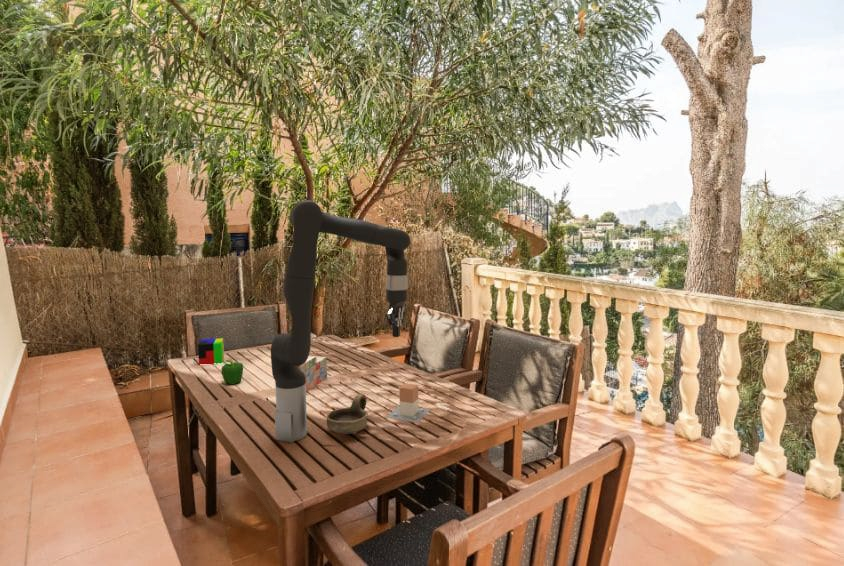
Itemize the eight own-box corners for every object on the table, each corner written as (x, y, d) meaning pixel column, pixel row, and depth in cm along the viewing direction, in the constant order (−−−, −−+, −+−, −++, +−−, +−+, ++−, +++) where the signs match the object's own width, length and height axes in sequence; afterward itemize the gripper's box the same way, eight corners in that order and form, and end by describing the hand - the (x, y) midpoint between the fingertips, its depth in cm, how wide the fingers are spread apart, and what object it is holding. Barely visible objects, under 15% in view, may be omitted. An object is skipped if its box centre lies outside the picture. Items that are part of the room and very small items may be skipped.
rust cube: (412, 403, 162) (412, 389, 161) (399, 401, 164) (399, 387, 163) (418, 398, 166) (418, 384, 166) (405, 396, 168) (405, 382, 168)
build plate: (418, 425, 158) (418, 421, 158) (386, 419, 162) (386, 415, 162) (430, 412, 169) (430, 407, 169) (400, 407, 174) (400, 402, 173)
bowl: (316, 435, 151) (316, 406, 149) (348, 415, 166) (348, 388, 165) (351, 445, 144) (351, 414, 143) (381, 423, 160) (381, 395, 158)
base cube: (412, 417, 163) (412, 403, 162) (399, 414, 164) (399, 401, 164) (418, 411, 167) (418, 398, 166) (405, 409, 169) (405, 396, 168)
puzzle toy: (202, 359, 230) (201, 339, 228) (224, 357, 233) (223, 338, 231) (199, 365, 220) (197, 344, 219) (222, 363, 223) (220, 343, 222)
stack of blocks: (314, 376, 207) (313, 349, 206) (327, 377, 206) (326, 350, 204) (288, 393, 187) (287, 363, 185) (302, 394, 185) (301, 364, 183)
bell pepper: (248, 380, 200) (247, 358, 198) (233, 387, 192) (232, 363, 191) (233, 378, 203) (232, 355, 202) (218, 384, 196) (217, 361, 195)
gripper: (395, 285, 169) (395, 331, 171) (378, 289, 157) (377, 339, 159) (414, 286, 166) (413, 334, 169) (398, 290, 154) (397, 342, 156)
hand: (396, 336), depth 164 cm, fingers closed
